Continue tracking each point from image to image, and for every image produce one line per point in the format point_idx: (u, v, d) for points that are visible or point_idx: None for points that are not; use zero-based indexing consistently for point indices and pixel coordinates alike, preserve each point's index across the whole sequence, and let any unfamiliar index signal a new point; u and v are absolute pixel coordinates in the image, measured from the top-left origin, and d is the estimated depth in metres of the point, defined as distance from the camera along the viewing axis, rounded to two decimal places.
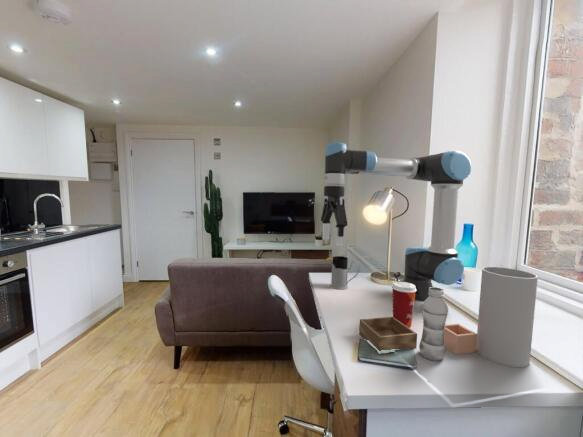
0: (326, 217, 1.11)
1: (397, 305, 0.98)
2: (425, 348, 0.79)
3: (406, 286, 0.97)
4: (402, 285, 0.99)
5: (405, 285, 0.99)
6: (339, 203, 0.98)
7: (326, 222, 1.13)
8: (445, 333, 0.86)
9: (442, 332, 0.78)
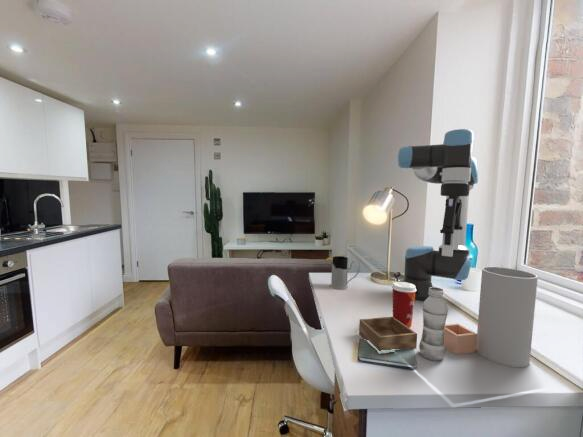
0: None
1: (397, 305, 0.98)
2: (425, 348, 0.79)
3: (406, 286, 0.97)
4: (402, 285, 0.99)
5: (405, 285, 0.99)
6: (448, 204, 0.81)
7: (455, 228, 0.92)
8: (445, 333, 0.86)
9: (442, 332, 0.78)
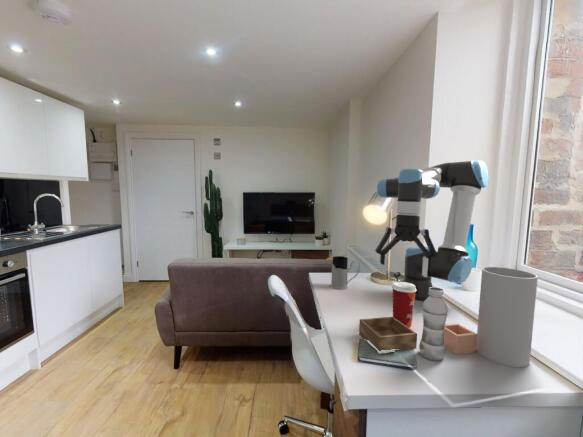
0: (421, 249, 0.99)
1: (397, 305, 0.98)
2: (425, 348, 0.79)
3: (406, 286, 0.97)
4: (402, 285, 0.99)
5: (405, 285, 0.99)
6: (386, 231, 1.00)
7: (426, 256, 0.98)
8: (445, 333, 0.86)
9: (442, 332, 0.78)
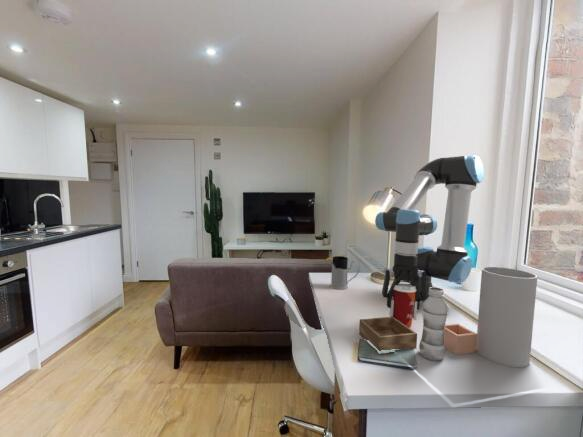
0: None
1: (397, 305, 0.98)
2: (425, 348, 0.79)
3: (406, 286, 0.97)
4: (402, 285, 0.99)
5: (405, 285, 0.99)
6: (385, 273, 1.01)
7: (415, 298, 0.99)
8: (445, 333, 0.86)
9: (442, 332, 0.78)
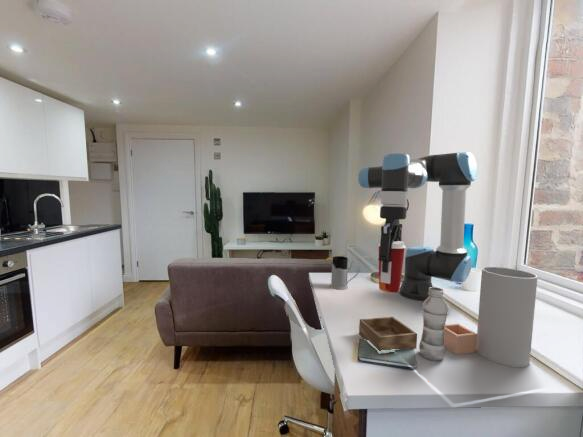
0: None
1: (395, 266, 0.84)
2: (425, 348, 0.79)
3: (398, 242, 0.86)
4: (394, 242, 0.85)
5: (394, 241, 0.86)
6: (383, 232, 0.82)
7: None
8: (445, 333, 0.86)
9: (442, 332, 0.78)
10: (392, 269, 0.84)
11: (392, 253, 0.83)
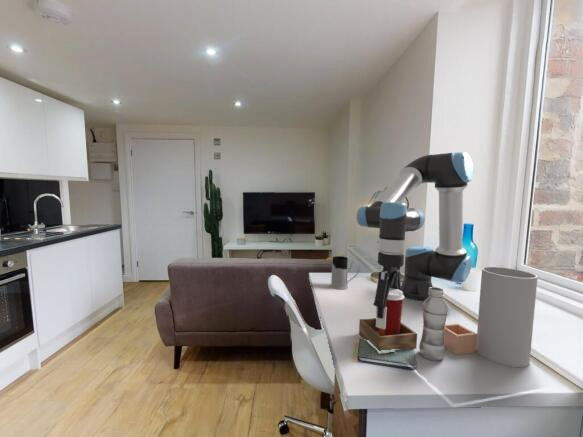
0: (391, 287, 0.92)
1: (394, 316, 0.86)
2: (425, 348, 0.79)
3: (397, 292, 0.88)
4: (393, 292, 0.88)
5: (393, 291, 0.89)
6: (380, 277, 0.82)
7: None
8: (445, 333, 0.86)
9: (442, 332, 0.78)
10: (391, 319, 0.87)
11: (391, 304, 0.86)
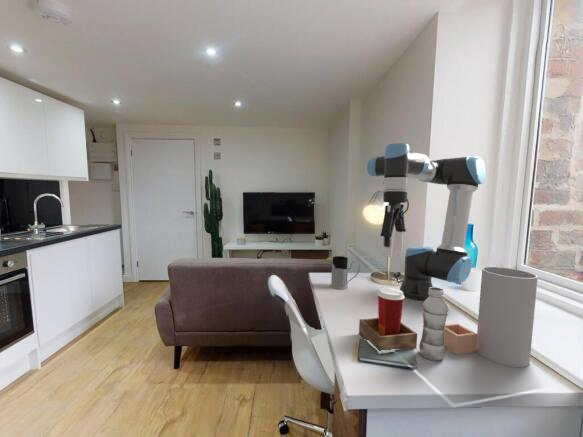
0: (396, 225, 1.01)
1: (394, 316, 0.87)
2: (425, 348, 0.79)
3: (397, 292, 0.89)
4: (393, 292, 0.88)
5: (394, 291, 0.89)
6: (386, 210, 0.90)
7: (399, 230, 1.02)
8: (445, 333, 0.86)
9: (442, 332, 0.78)
10: (391, 319, 0.87)
11: (391, 304, 0.86)
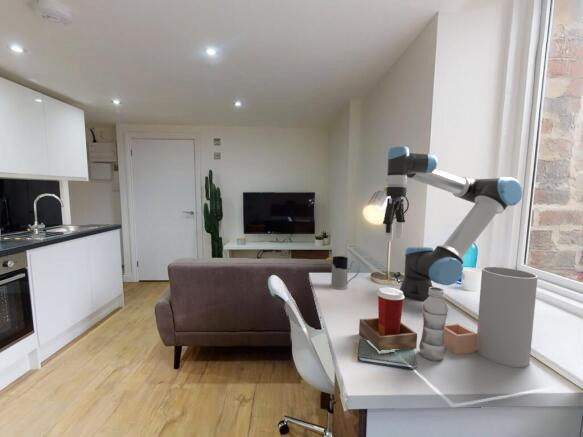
0: (397, 216, 1.18)
1: (394, 316, 0.87)
2: (425, 348, 0.79)
3: (397, 292, 0.89)
4: (393, 292, 0.88)
5: (394, 291, 0.89)
6: (388, 202, 1.08)
7: (399, 221, 1.20)
8: (445, 333, 0.86)
9: (442, 332, 0.78)
10: (391, 319, 0.87)
11: (391, 304, 0.86)
